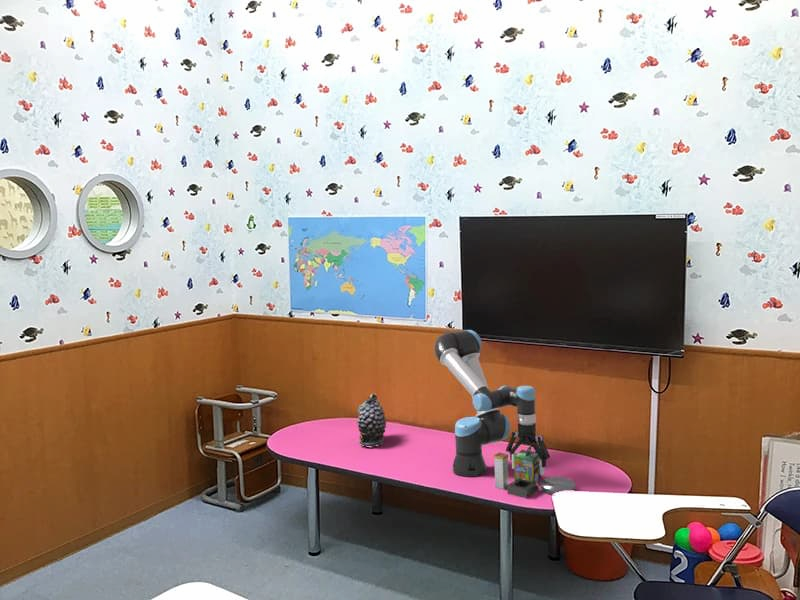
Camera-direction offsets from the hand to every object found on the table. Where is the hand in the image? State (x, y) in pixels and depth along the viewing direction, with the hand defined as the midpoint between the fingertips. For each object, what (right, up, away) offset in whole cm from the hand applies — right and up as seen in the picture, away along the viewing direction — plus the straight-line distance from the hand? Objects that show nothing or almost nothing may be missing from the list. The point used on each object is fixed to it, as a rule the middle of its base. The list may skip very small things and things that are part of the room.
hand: (528, 471), depth 297 cm
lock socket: (-4, -6, -12) cm, 14 cm away
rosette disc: (+10, -5, -11) cm, 16 cm away
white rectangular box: (-12, -5, -6) cm, 14 cm away
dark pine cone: (-69, 0, +60) cm, 91 cm away
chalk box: (0, -4, +1) cm, 4 cm away
